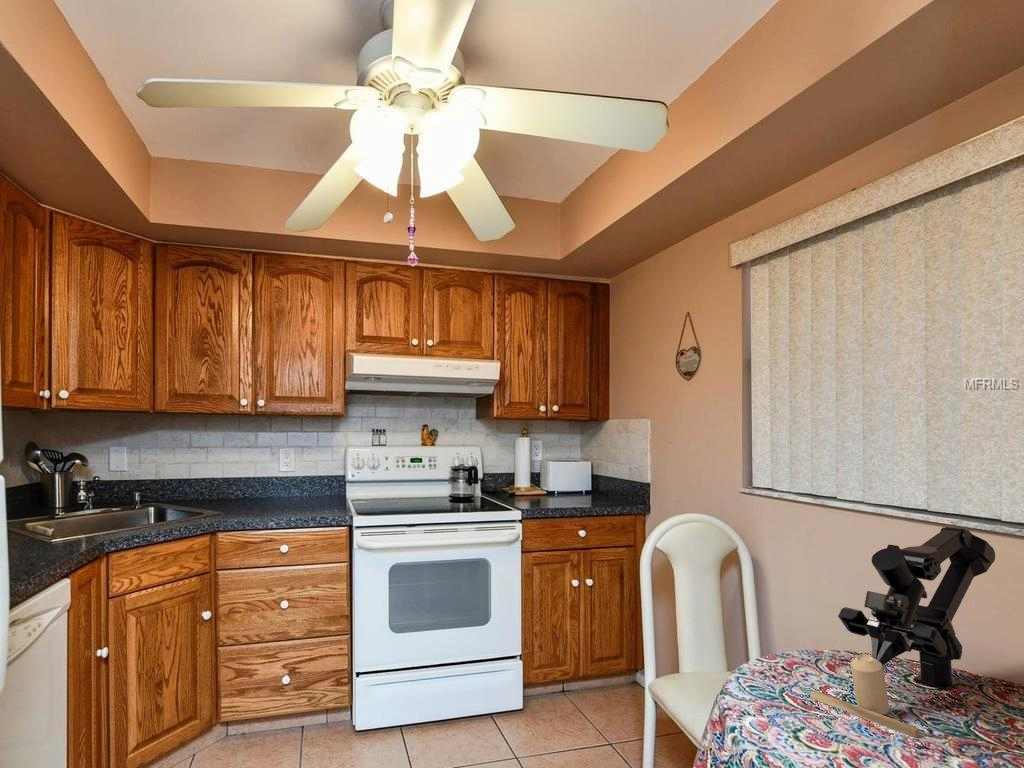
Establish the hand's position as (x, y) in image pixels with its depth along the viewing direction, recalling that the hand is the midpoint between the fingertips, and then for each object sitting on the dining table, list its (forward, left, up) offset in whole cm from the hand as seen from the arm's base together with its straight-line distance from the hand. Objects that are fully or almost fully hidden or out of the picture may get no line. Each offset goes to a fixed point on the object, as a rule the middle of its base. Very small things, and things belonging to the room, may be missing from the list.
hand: (875, 666), depth 123 cm
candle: (+1, 0, -8) cm, 8 cm away
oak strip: (+6, 0, -8) cm, 10 cm away
